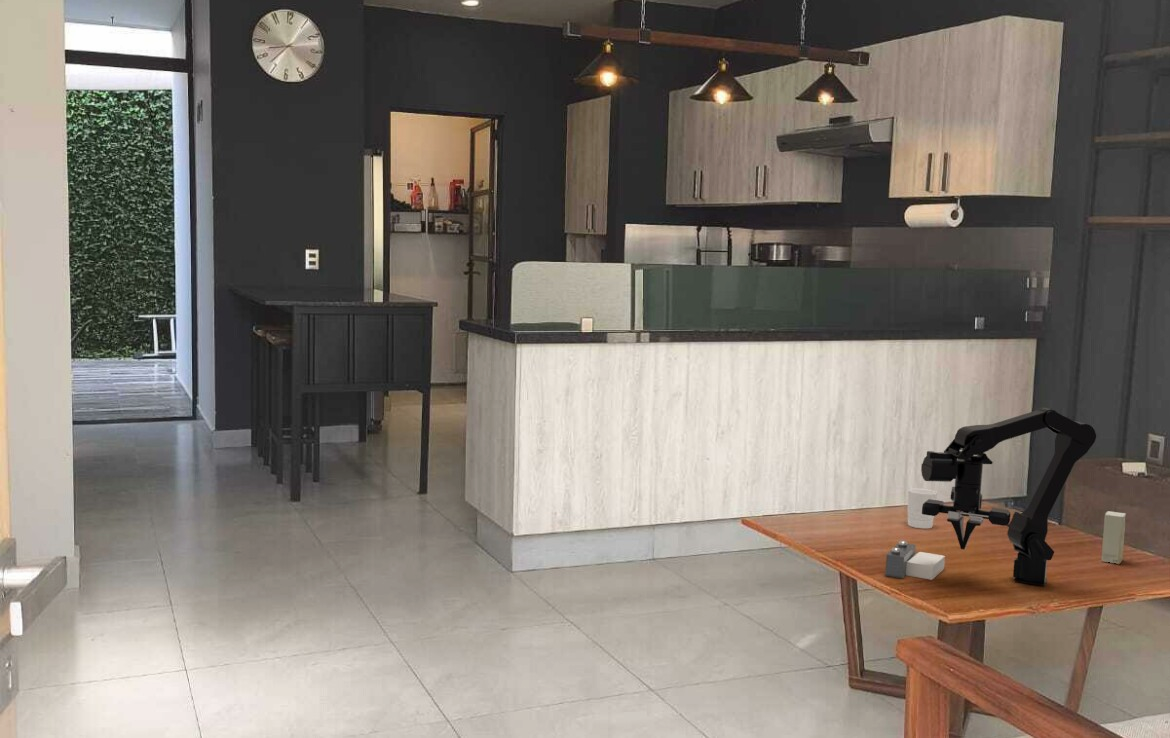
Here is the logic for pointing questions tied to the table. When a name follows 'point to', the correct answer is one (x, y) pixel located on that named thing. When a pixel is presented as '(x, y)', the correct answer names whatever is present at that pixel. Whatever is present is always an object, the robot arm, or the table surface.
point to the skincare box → (1113, 537)
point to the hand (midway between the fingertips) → (962, 548)
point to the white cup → (919, 507)
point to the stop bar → (899, 559)
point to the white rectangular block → (925, 565)
